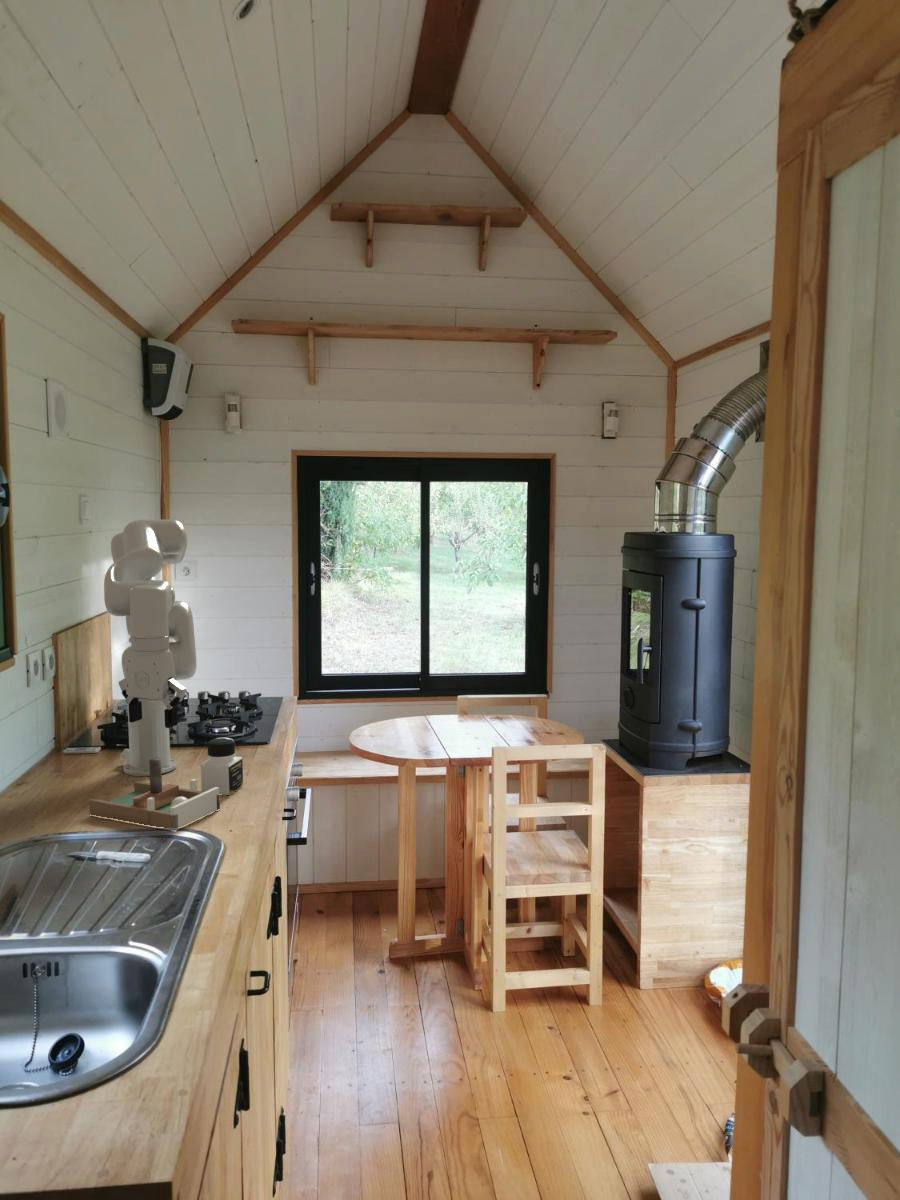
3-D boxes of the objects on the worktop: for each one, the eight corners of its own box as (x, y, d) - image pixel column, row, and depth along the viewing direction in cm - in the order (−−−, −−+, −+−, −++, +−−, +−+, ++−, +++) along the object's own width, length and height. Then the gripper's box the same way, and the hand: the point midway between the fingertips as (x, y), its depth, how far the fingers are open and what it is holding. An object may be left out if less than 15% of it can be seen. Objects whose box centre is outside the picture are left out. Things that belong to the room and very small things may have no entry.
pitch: (89, 816, 184) (88, 788, 184) (137, 796, 197) (136, 770, 196) (175, 832, 175) (174, 803, 174) (219, 810, 188) (219, 783, 187)
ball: (183, 817, 180) (169, 819, 182) (196, 811, 184) (182, 813, 186) (178, 798, 180) (164, 801, 182) (191, 792, 184) (177, 795, 186)
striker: (133, 812, 182) (131, 765, 180) (168, 796, 191) (166, 752, 190) (144, 814, 180) (142, 767, 179) (179, 798, 190) (177, 754, 189)
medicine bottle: (230, 796, 197) (228, 744, 196) (201, 794, 198) (199, 742, 197) (243, 786, 204) (242, 736, 203) (215, 784, 205) (213, 734, 204)
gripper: (105, 643, 182) (109, 723, 184) (170, 650, 175) (173, 733, 178) (131, 638, 189) (135, 714, 191) (195, 644, 182) (197, 724, 184)
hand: (153, 723), depth 184 cm, fingers open, 9 cm apart
